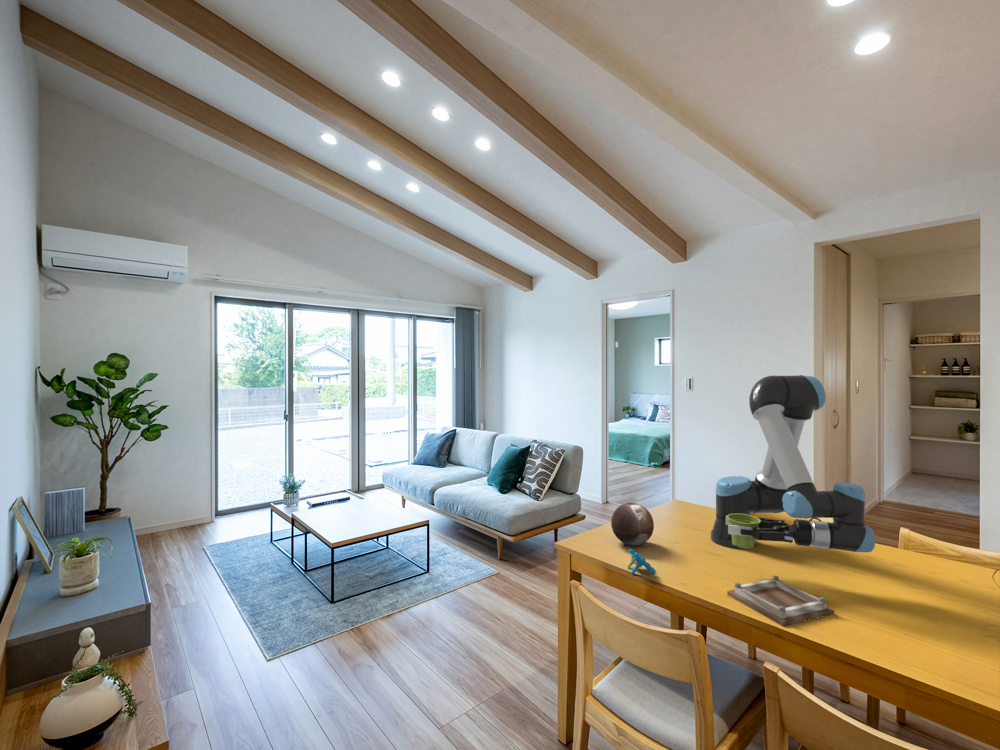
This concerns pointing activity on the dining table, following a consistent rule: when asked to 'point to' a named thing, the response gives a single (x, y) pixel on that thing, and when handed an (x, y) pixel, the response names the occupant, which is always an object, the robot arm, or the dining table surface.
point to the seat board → (780, 601)
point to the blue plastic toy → (639, 562)
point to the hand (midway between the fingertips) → (727, 524)
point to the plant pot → (743, 520)
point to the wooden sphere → (632, 524)
